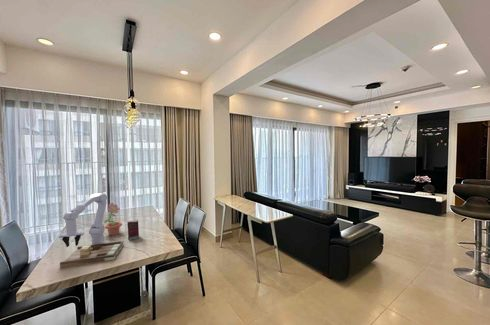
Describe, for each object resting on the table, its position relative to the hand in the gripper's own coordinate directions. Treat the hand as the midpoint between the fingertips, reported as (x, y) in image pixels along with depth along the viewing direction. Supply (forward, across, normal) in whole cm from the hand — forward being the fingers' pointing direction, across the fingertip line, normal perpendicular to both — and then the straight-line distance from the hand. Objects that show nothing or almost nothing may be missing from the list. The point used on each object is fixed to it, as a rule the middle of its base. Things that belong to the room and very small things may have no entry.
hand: (72, 245), depth 145 cm
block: (+7, +8, 0) cm, 11 cm away
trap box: (+9, +14, 0) cm, 17 cm away
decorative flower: (+10, +14, +41) cm, 44 cm away
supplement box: (+10, +35, +24) cm, 44 cm away
